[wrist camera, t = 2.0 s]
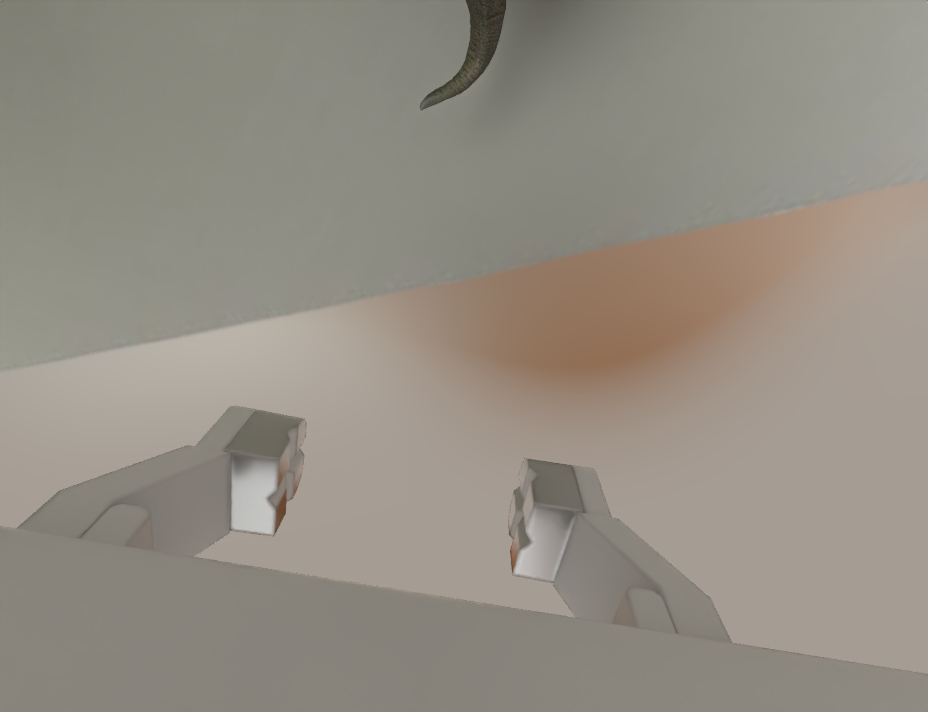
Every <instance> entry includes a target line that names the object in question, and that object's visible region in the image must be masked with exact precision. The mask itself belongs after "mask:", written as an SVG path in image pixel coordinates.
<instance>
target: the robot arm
mask: <svg viewBox="0 0 928 712" xmlns="http://www.w3.org/2000/svg"><path fill="white" fill-rule="evenodd" d="M305 437H306V421H305V419H302V418H297V417H292V416H287V415H281V414H277V413H272V412H267V411H262V410H256V409H252V408H246V407H240V406H231V407H229V408H228V409H227V410H226V412H225V413H224V414H223V415H222V416H221V417H220V418H219V420H218V421H217V422H216V423H215V424H214V425H213V426H212V428H211V429H210V430H209V431H208V432H207V433H206V434H205V436H204V437H203V438H202V439H201V440H200V441H199V442H198V444H197V445H196V446H184V447H181V448H179V449H176V450H173V451H170V452H167V453H164V454H162V455H159V456H156V457H153V458H150V459H147V460H145V461H142V462H139V463H136V464H133V465H131V466H128V467H125V468H122V469H119V470H117V471H114V472H111V473H108V474H105V475H102V476H99V477H97V478H94V479H91V480H88V481H85V482H83V483H80V484H77V485H74V486H71V487H68V488H66V489H63V490H60V491H59V492H58V493H56V494H55V495H54V496H53V497H52V498H51V499H50V500H48V501H47V502H46V503H45V504H44V505H43V506H41V507H40V508H39V509H38V510H37V511H36V512H35V513H33V514H32V515H31V516H30V517H29V518H28V519H27V520H26V521H24V522H23V523H22V524H21V525H20V526H19V527H17V528H10V527H4V526H0V712H928V674H924V673H917V672H911V671H905V670H899V669H892V668H886V667H880V666H874V665H868V664H861V663H855V662H848V661H842V660H836V659H829V658H824V657H817V656H811V655H804V654H799V653H792V652H786V651H780V650H774V649H767V648H761V647H755V646H748V645H742V644H736V643H732V641H731V639H730V637H729V635H728V633H727V631H726V629H725V627H724V625H723V623H722V621H721V619H720V617H719V615H718V612H717V610H716V608H715V607H714V604H713V602H712V600H711V598H710V597H709V596H707V595H706V594H705V593H704V592H703V591H702V590H700V589H699V588H698V587H697V586H696V585H695V584H694V583H692V582H691V581H690V580H689V579H688V578H687V577H685V576H684V575H683V574H682V573H681V572H679V571H678V570H677V569H676V568H675V567H674V566H673V565H672V564H670V563H669V562H668V561H667V560H666V559H665V558H663V557H662V556H661V555H660V554H659V553H658V552H656V551H655V550H654V549H653V548H652V547H651V546H649V545H648V544H647V543H646V542H645V541H644V540H642V539H641V538H640V537H639V536H638V535H637V534H635V533H634V532H633V531H632V530H631V529H630V528H629V527H627V526H626V525H625V524H624V523H623V522H622V521H620V520H619V519H616V518H612V516H611V514H610V511H609V508H608V505H607V502H606V499H605V496H604V493H603V491H602V488H601V485H600V482H599V479H598V476H597V473H596V471H595V470H594V469H593V468H589V467H581V466H574V465H566V464H559V463H553V462H546V461H539V460H532V459H526V458H525V459H524V461H523V463H522V465H521V469H520V472H519V480H520V487H518V488H517V489H516V490H514V493H513V497H512V501H511V506H510V512H509V535H510V536H511V537H512V538H513V543H512V546H511V550H510V554H511V565H512V575H513V576H518V577H524V578H529V579H534V580H539V581H544V582H550V583H553V586H554V587H555V589H556V590H557V592H558V593H559V594H560V596H561V597H562V599H563V600H564V602H565V603H566V604H567V606H568V607H569V609H570V610H571V611H572V613H573V614H574V616H575V617H576V618H574V617H567V616H561V615H555V614H549V613H542V612H536V611H530V610H523V609H516V608H510V607H505V606H498V605H492V604H486V603H479V602H473V601H467V600H461V599H454V598H447V597H442V596H435V595H429V594H423V593H416V592H410V591H404V590H398V589H392V588H385V587H379V586H373V585H367V584H360V583H354V582H348V581H342V580H335V579H329V578H322V577H317V576H310V575H304V574H298V573H291V572H285V571H279V570H272V569H267V568H260V567H254V566H248V565H242V564H235V563H229V562H223V561H216V560H210V559H204V558H198V557H194V556H196V555H197V554H199V553H200V552H202V551H203V550H205V549H206V548H208V547H209V546H211V545H212V544H214V543H215V542H217V541H218V540H220V539H221V538H223V537H224V536H225V535H227V534H229V531H237V532H244V533H252V534H259V535H267V536H274V535H275V533H276V531H277V529H278V527H279V525H280V523H281V521H282V519H283V517H284V515H285V513H286V502H287V501H289V500H291V499H293V497H294V495H295V493H296V490H297V488H298V485H299V482H300V478H301V475H302V469H303V463H304V454H303V452H302V451H301V449H300V447H301V445H302V443H303V441H304V439H305Z"/></svg>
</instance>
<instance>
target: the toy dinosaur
mask: <svg viewBox="0 0 928 712" xmlns="http://www.w3.org/2000/svg"><path fill="white" fill-rule="evenodd" d="M466 2H467V5H468V8H469V12H470V25H471V30H470V34H471V35H470V42H469V47H468V51H467V55H466V59H465V62H464V64H463V66H462V68H461V69H460V70H459V72H458V73H457V74H456V75H455V76H454V77H453V79H452V80H450V81H449V82H447V83H446V84H445V85H443V86H441V87H439V88H438V89H436V90H434V91H433V92H431V93H430V94H428V95H427V96H426V98H425V99H424V100H423V101H422V103H421V105H420V110H423V109H425V108H427V107H430V106H432V105H435V104H437V103H440V102H442V101H444V100H446V99H449V98H451V97H454V96H456V95H458V94H460V93H462V92H463V91H465V90H466V89H467V88H468V87H470V86H471V85H472V84H473V83H474V82H475V81H476V80H477V79H478V77H479V76H480V75H481V74H482V73H483V72H484V70H485V69H486V68H487V66H488V65H489V63H490V61H491V59H492V57H493V55H494V53H495V50H496V47H497V44H498V41H499V37H500V34H501V29H502V24H503V19H504V14H505V10H506V0H466Z"/></svg>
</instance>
